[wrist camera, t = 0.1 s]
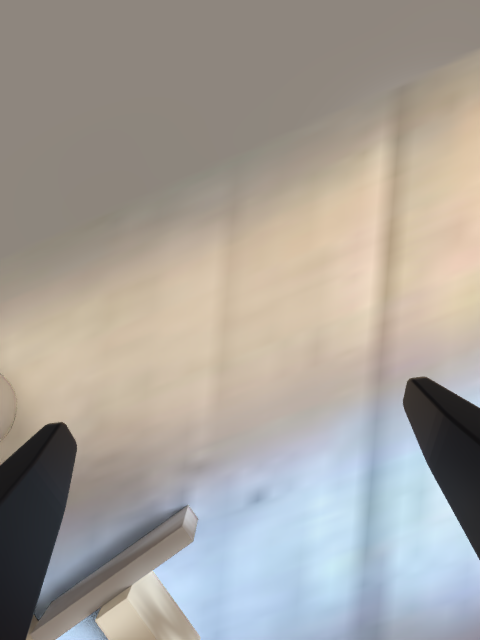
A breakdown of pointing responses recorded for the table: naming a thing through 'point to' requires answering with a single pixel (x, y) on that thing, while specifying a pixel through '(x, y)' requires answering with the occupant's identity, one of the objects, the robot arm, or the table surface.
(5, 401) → the plastic bottle
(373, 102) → the table surface
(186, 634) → the scraper
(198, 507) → the table surface
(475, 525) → the robot arm
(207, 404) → the table surface
